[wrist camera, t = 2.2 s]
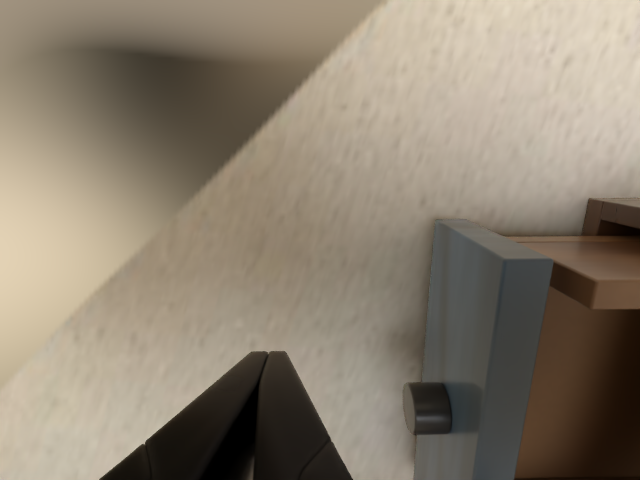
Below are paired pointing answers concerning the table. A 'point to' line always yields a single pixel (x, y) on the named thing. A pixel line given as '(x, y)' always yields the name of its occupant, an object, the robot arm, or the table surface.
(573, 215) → the table surface
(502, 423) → the drawer
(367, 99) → the table surface
